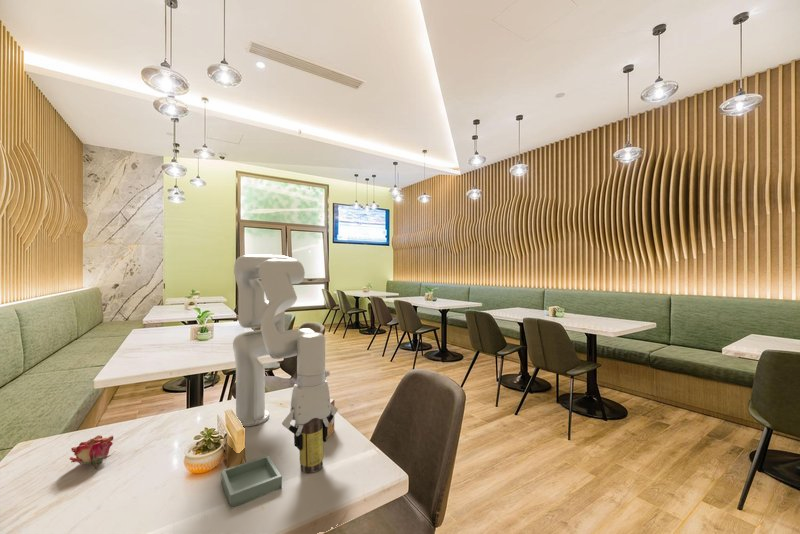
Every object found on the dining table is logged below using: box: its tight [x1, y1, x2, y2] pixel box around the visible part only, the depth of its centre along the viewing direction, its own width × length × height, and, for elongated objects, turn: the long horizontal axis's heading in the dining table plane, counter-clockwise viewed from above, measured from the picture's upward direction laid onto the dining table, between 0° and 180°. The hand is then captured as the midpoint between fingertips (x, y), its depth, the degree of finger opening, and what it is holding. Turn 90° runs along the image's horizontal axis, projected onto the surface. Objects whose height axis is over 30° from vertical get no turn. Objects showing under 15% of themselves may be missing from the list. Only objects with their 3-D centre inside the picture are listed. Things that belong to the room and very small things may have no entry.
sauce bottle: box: [299, 418, 324, 474], centre depth 92 cm, size 6×6×20 cm
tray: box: [220, 454, 283, 509], centre depth 84 cm, size 12×12×3 cm
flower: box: [69, 435, 115, 470], centre depth 92 cm, size 10×9×8 cm
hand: (311, 443), depth 92 cm, fingers closed on sauce bottle, 6 cm apart
